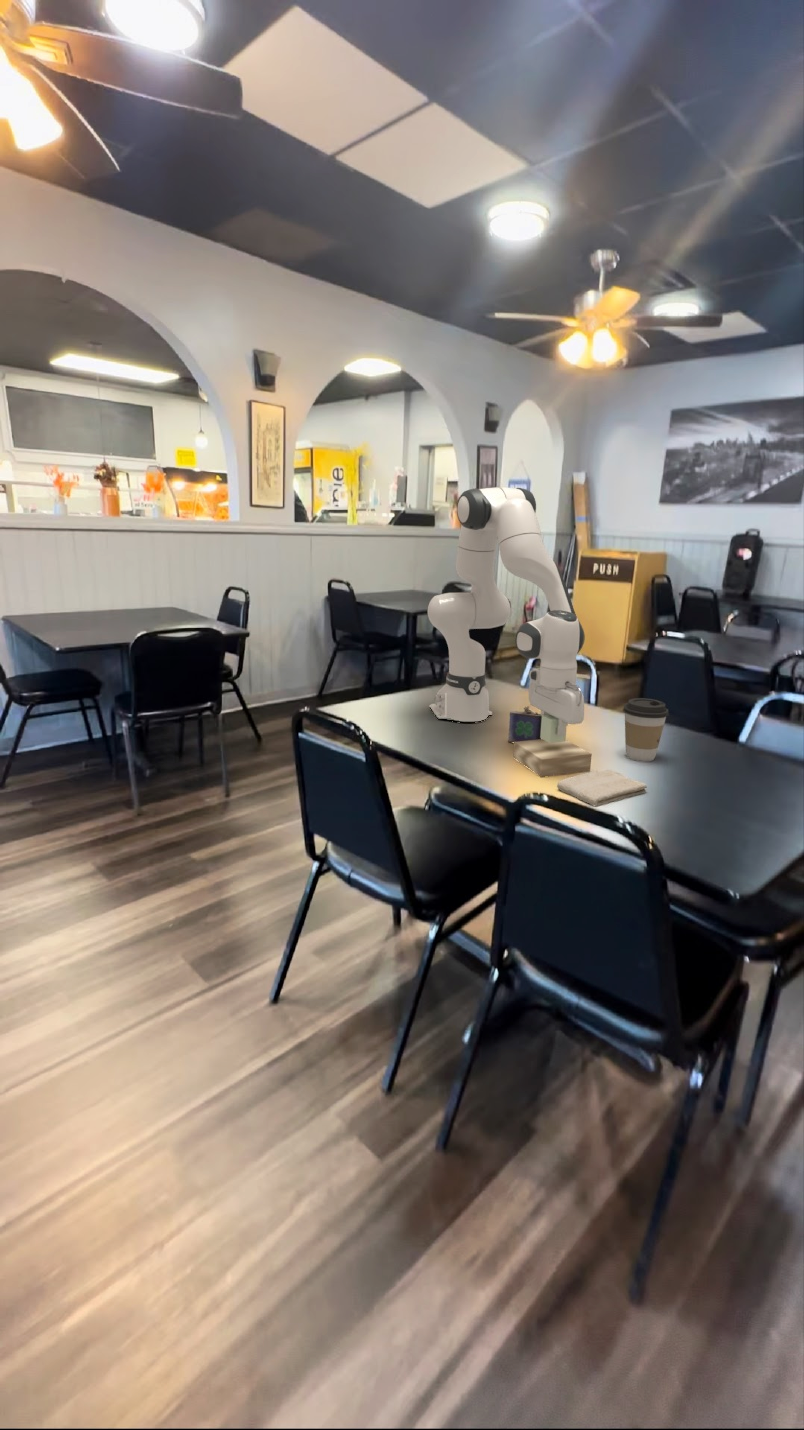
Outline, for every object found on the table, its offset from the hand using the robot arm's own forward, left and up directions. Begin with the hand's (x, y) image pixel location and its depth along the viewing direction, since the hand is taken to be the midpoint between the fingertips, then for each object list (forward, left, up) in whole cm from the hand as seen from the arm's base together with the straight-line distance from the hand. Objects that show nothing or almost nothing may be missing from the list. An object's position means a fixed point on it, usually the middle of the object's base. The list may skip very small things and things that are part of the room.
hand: (553, 731), depth 168 cm
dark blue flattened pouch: (-17, +2, -9) cm, 19 cm away
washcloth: (+19, +2, -10) cm, 21 cm away
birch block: (0, 0, -9) cm, 9 cm away
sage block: (0, 0, -2) cm, 2 cm away
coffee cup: (+2, +26, -9) cm, 28 cm away
